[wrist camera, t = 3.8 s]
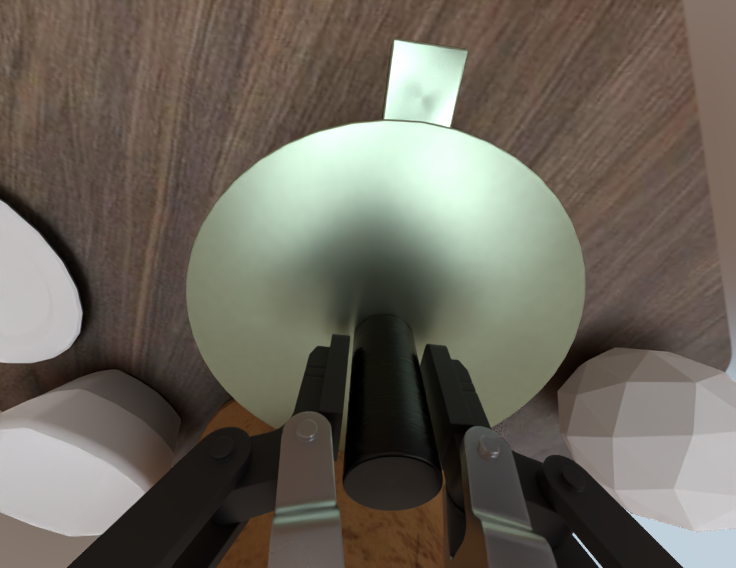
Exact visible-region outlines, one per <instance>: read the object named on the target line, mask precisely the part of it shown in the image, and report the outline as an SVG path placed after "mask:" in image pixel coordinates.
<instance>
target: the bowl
mask: <svg viewBox="0 0 736 568" xmlns="http://www.w3.org/2000/svg"><path fill="white" fill-rule="evenodd" d="M180 424H181V418H180V417H179V416H178V414H177V413H176V412H175V410H174V409H173V408H172V406H171V405H170V404H169V403H168V402H167V401H166V400H165V399H164V398H163V397H162V396H160V395H159V394H158V393H157V392H156V391H154V390H153V389H151V388H150V387H148V386H147V385H145V384H144V383H142V382H141V381H139V380H137V379H135V378H134V377H132V376H130V375H128V374H126V373H124V372H122V371H120V370H116V369H111V370H104V371H98V372H94V373H91V374H88V375H86V376H83V377H80V378H77V379H75V380H73V381H71V382H68V383H66V384H64V385H62V386H60V387H58V388H55V389H53V390H51V391H49V392H47V393H44V394H42V395H40V396H38V397H36V398H34V399H31V400H28V401H26V402H24V403H22V404H19V405H17V406H15V407H13V408H11V409H9V410H6V411H4V412H2V413H0V512H1V513H3V514H6V515H9V516H11V517H13V518H16V519H19V520H21V521H23V522H26V523H28V524H31V525H33V526H37V527H40V528H43V529H46V530H50V531H53V532H56V533H60V534H63V535H66V536H89V535H101V534H103V533H104V532H105V531H106V530H107V529H108V528H109V527H110V526H111V525H112V524H113V523H114V522H116V521H117V520H118V519H119V518H120V517H121V516H122V515H123V514H124V513H125V512H126V511H127V510H128V509H129V508H130V507H131V506H132V505H133V504H135V503H136V502H137V501H138V500H139V499H140V498H141V497H142V496H143V495H144V494H145V493H146V492H147V491H148V490H149V489H150V488H151V487H152V486H154V485H155V484H156V483H157V482H158V481H159V480H160V479H161V478H162V477H163V476H164V475H165V474H166V473H167V472H168V471H169V470H170V469H171V465H172V461H173V456H174V450H175V446H176V441H177V437H178V432H179V428H180Z"/></svg>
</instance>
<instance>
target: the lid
mask: <svg viewBox="0 0 736 568" xmlns="http://www.w3.org/2000/svg"><path fill="white" fill-rule="evenodd" d="M584 299H585V267H584V262H583V256H582V251H581V246H580V243H579V241H578V238H577V235H576V232H575V230H574V227H573V224H572V222H571V220H570V218H569V217H568V215H567V213H566V211H565V210H564V208H563V206H562V205H561V203H560V201H559V199H558V198H557V197H556V196H555V195H554V193H553V192H552V191H551V190H550V189H549V187H548V186H547V185H546V184H545V183H544V182H543V180H542V179H541V178H540V177H539V176H538V175H537V174H536V173H534V172H533V171H532V170H531V169H530V168H528V167H527V166H526V165H525V164H524V163H522V162H521V161H520V160H519V159H518V158H516V157H515V156H513V155H511V154H510V153H508V152H506V151H505V150H503V149H501V148H499V147H498V146H496V145H494V144H493V143H491V142H489V141H487V140H485V139H482V138H479V137H477V136H474V135H472V134H469V133H467V132H464V131H461V130H459V129H456V128H451V127H447V126H442V125H438V124H433V123H428V122H424V121H411V120H395V119H382V120H370V121H358V122H350V123H346V124H342V125H338V126H333V127H329V128H325V129H321V130H317V131H315V132H312V133H310V134H307V135H305V136H302V137H300V138H297V139H295V140H293V141H290V142H288V143H285V144H284V145H282V146H281V147H279V148H277V149H276V150H274V151H272V152H271V153H269V154H267V155H266V156H264V157H262V158H261V159H259V160H257V161H256V162H255V163H254V164H253V165H252V166H250V167H249V168H248V169H247V170H246V171H244V172H243V173H242V174H241V175H240V176H238V177H237V178H236V179H235V180H234V181H233V182H232V183H231V184H230V186H229V187H228V188H227V189H226V190H225V191H224V193H223V194H222V195H221V196H220V197H219V198H218V200H217V201H216V202H215V204H214V205H213V207H212V209H211V210H210V212H209V214H208V215H207V217H206V218H205V220H204V222H203V223H202V225H201V228H200V230H199V233H198V235H197V238H196V240H195V243H194V245H193V248H192V252H191V256H190V261H189V266H188V270H187V283H186V301H187V310H188V318H189V322H190V325H191V329H192V332H193V336H194V339H195V342H196V344H197V346H198V348H199V351H200V353H201V355H202V357H203V359H204V361H205V362H206V364H207V366H208V367H209V369H210V370H211V372H212V374H213V375H214V376H215V378H216V379H217V380H218V381H219V383H220V384H221V385H222V386H223V388H224V389H225V390H226V391H227V392H228V393H229V394H230V395H231V396H232V397H233V398H234V399H235V400H236V401H237V402H238V403H239V404H240V405H242V406H243V407H244V408H245V409H247V410H248V411H249V412H250V413H252V414H253V415H254V416H256V417H257V418H259V419H260V420H262V421H264V422H265V423H267V424H268V425H270V426H271V427H273V428H275V429H278V428H280V427H281V426H283V425H284V424H285V423H286V422H287V421H288V420H289V419H290V418H291V416H292V414H293V412H294V409H295V405H296V401H297V398H298V394H299V390H300V387H301V383H302V379H303V376H304V372H305V368H306V365H307V361H308V357H309V354H310V353H311V352H312V351H313V350H314V349H315V348H316V346H326V347H330V344H331V338H332V334H339V335H349V336H350V346H349V357H348V367H347V378H346V388H345V399H344V409H343V418H342V426H341V435H340V443H339V451H344V463H343V476H342V484H343V488H344V490H345V492H346V494H347V495H348V496H349V497H350V498H351V499H352V500H353V501H355V502H356V503H358V504H360V505H362V506H365V507H368V508H372V509H376V510H383V511H400V510H407V509H412V508H415V507H418V506H421V505H423V504H426V503H427V502H429V501H431V500H432V499H433V498H435V497H436V496H437V495H438V493H439V492H440V490H441V488H442V485H443V474H442V470H441V465H440V460H439V455H438V451H437V446H436V441H435V436H434V432H433V427H432V422H431V417H430V412H429V408H428V403H427V398H426V393H425V389H424V384H423V379H422V374H421V369H420V364H421V360H422V356H423V353H424V349H425V346H426V344H436V345H445V346H446V347H447V348H448V351H449V354H450V357H451V359H455V360H459V361H460V362H461V363H462V364H463V365H464V367H465V368H466V369H467V370H468V372H469V375H470V377H471V380H472V383H473V385H474V387H475V390H476V393H477V395H478V397H479V399H480V402H481V404H482V407H483V409H484V412H485V414H486V417H487V419H488V422H489V424H490V427H493V426H494V425H496V424H498V423H499V422H501V421H503V420H504V419H506V418H508V417H509V416H511V415H512V414H513V413H515V412H516V411H517V410H519V409H520V408H521V407H522V406H524V405H525V404H526V403H527V402H528V401H530V400H531V399H532V398H533V397H534V396H535V395H536V394H537V393H538V392H539V391H540V390H541V389H542V388H543V387H544V386H545V384H546V383H547V382H548V381H549V380H550V379H551V377H552V376H553V375H554V374H555V372H556V371H557V369H558V368H559V366H560V365H561V363H562V362H563V360H564V359H565V357H566V355H567V353H568V351H569V349H570V347H571V345H572V343H573V341H574V339H575V336H576V333H577V330H578V327H579V324H580V320H581V317H582V312H583V305H584Z"/></svg>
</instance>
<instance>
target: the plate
mask: <svg viewBox="0 0 736 568" xmlns="http://www.w3.org/2000/svg"><path fill="white" fill-rule="evenodd" d="M83 315H84V310H83V306H82V301H81V297H80V292H79V288H78V286H77V284H76V282H75V280H74V278H73V276H72V274H71V272H70V271H69V269H68V267H67V265H66V263H65V261H64V260H63V258H62V257H61V256H60V255H59V253H58V252H57V251H56V250H55V249H54V247H53V246H52V245H51V244H50V242H49V241H48V240H47V239H46V238H45V236H44V235H43V234H42V233H41V232H40V231H39V230H38V229H37V228H36V227H35V226H34V225H33V224H31V223H30V222H29V221H28V220H27V219H26V218H25V217H23V216H22V215H21V214H20V213H19V212H18V211H17V210H16V209H14V208H13V207H12V206H11V205H10V204H9V203H7V202H5V201H4V200H2V199H1V198H0V362H3V363H35V362H39V361H43V360H47V359H52V358H54V357H56V356H58V355H59V354H61V353H62V352H64V351H66V350H67V349H69V348H70V347H71V346H72V345H73V343H74V342H75V340H76V339H77V337H78V336H79V334H80V333H81V329H82V322H83Z"/></svg>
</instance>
